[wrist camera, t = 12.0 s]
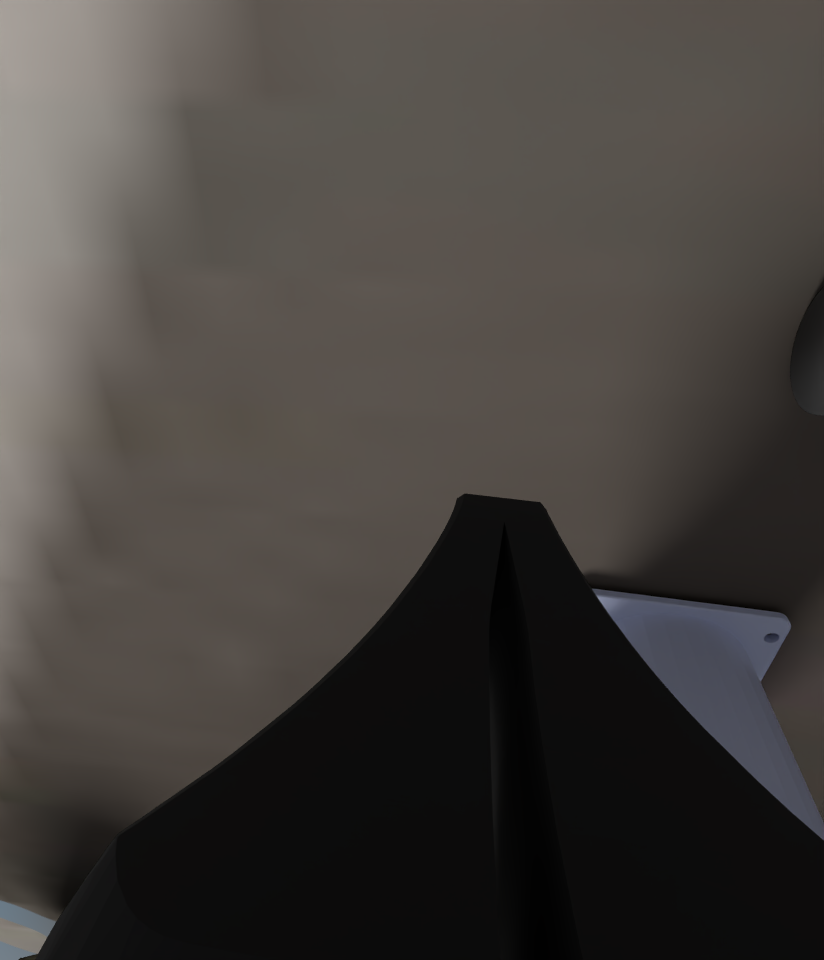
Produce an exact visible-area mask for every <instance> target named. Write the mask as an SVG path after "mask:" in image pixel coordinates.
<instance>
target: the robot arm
mask: <svg viewBox="0 0 824 960" xmlns="http://www.w3.org/2000/svg"><path fill="white" fill-rule="evenodd" d="M790 629H791V624H790V621H789V620H788V618H787V616H786V615H784V614H782V613H779V612H772V611H764V610H756V609H749V608H741V607H733V606H725V605H717V604H710V603H702V602H694V601H686V600H678V599H671V598H663V597H655V596H647V595H639V594H632V593H624V592H616V591H608V590H600V589H592V588H591V587H590V585H589V584H588V582H587V580H586V579H585V577H584V576H583V574H582V573H581V571H580V570H579V568H578V566H577V565H576V563H575V561H574V560H573V558H572V557H571V555H570V553H569V551H568V550H567V548H566V546H565V544H564V543H563V541H562V539H561V537H560V536H559V534H558V532H557V530H556V528H555V526H554V524H553V522H552V520H551V519H550V517H549V515H548V513H547V510H546V509H545V508H544V506H543V505H542V504H541V502H533V501H524V500H516V499H507V498H498V497H490V496H481V495H473V494H463V495H462V496H460V497H459V498H457V500H456V504H455V507H454V510H453V512H452V515H451V517H450V519H449V521H448V523H447V525H446V527H445V529H444V531H443V532H442V534H441V536H440V538H439V539H438V541H437V543H436V544H435V546H434V547H433V549H432V550H431V552H430V553H429V555H428V557H427V558H426V560H425V561H424V563H423V564H422V566H421V567H420V569H419V570H418V572H417V573H416V574H415V576H414V577H413V578H412V580H411V581H410V582H409V584H408V585H407V586H406V587H405V589H404V590H403V591H402V593H401V594H400V595H399V597H398V598H397V599H396V600H395V602H394V603H393V604H392V606H391V607H390V608H389V609H388V610H387V612H386V613H385V614H384V615H383V616H382V617H381V619H380V620H379V621H378V622H377V623H376V624H375V625H374V627H373V628H372V629H371V630H370V631H369V632H368V633H367V634H366V635H365V636H364V637H363V638H362V640H361V641H360V642H359V643H358V644H357V645H356V646H355V647H354V648H353V649H352V650H351V651H350V652H349V653H348V654H347V655H346V656H345V657H344V658H343V659H342V660H341V661H340V662H339V663H338V664H337V665H336V666H335V667H334V668H333V669H332V670H330V671H329V672H328V673H327V674H326V675H325V676H324V677H323V678H322V679H321V680H320V681H319V682H318V683H317V684H316V685H315V686H314V687H313V688H311V689H310V690H309V691H308V692H307V693H306V694H305V695H304V696H302V697H301V698H300V699H299V700H298V701H297V702H296V703H294V704H293V705H292V706H291V707H290V708H288V709H287V710H286V711H285V712H284V713H282V714H281V715H280V716H279V717H277V718H276V719H275V720H274V721H272V722H271V723H270V724H269V725H267V726H266V727H265V728H264V729H262V730H261V731H260V732H259V733H257V734H256V735H255V736H254V737H252V738H251V739H250V740H249V741H247V742H246V743H245V744H244V745H243V746H241V747H240V748H239V749H238V750H236V751H235V752H234V753H233V754H231V755H230V756H228V757H227V758H226V759H224V760H223V761H222V762H220V763H219V764H218V765H216V766H215V767H214V768H212V769H211V770H210V771H208V772H207V773H205V774H204V775H202V776H201V777H199V778H198V779H197V780H195V781H194V782H192V783H191V784H189V785H188V786H186V787H185V788H184V789H182V790H181V791H179V792H178V793H176V794H175V795H174V796H172V797H171V798H169V799H168V800H166V801H165V802H163V803H162V804H161V805H159V806H158V807H156V808H155V809H153V810H152V811H150V812H149V813H148V814H146V815H145V816H143V817H142V818H140V819H139V820H138V821H136V822H135V823H133V824H132V825H130V826H129V827H127V828H126V829H124V830H123V831H121V832H120V833H119V834H117V835H116V837H115V838H114V839H113V841H112V842H111V843H110V845H109V846H108V847H107V849H106V850H105V852H104V853H103V854H102V856H101V857H100V859H99V860H98V861H97V863H96V864H95V866H94V867H93V868H92V870H91V871H90V873H89V874H88V876H87V877H86V878H85V880H84V882H83V883H82V885H81V886H80V888H79V889H78V891H77V892H76V894H75V895H74V897H73V898H72V899H71V901H70V902H69V904H68V905H67V907H66V908H65V909H64V911H63V912H62V914H61V915H60V917H59V918H58V920H57V922H56V923H55V925H54V927H53V929H52V930H51V932H50V934H49V936H48V937H47V939H46V941H45V943H44V944H43V946H42V948H41V950H40V952H39V953H38V955H37V957H36V959H35V960H824V822H823V820H822V818H821V816H820V813H819V811H818V809H817V807H816V805H815V802H814V800H813V798H812V796H811V793H810V791H809V789H808V787H807V785H806V782H805V780H804V778H803V776H802V773H801V771H800V769H799V767H798V765H797V762H796V760H795V758H794V756H793V753H792V751H791V749H790V747H789V745H788V742H787V740H786V738H785V736H784V733H783V731H782V729H781V727H780V724H779V722H778V720H777V718H776V716H775V713H774V711H773V709H772V707H771V704H770V702H769V700H768V698H767V696H766V693H765V691H764V689H763V687H762V684H761V680H762V679H763V677H764V675H765V673H766V672H767V670H768V668H769V666H770V665H771V663H772V661H773V659H774V657H775V656H776V654H777V652H778V650H779V649H780V647H781V645H782V643H783V642H784V640H785V638H786V636H787V635H788V633H789V631H790ZM770 633H773V634H770ZM767 634H770V635H767Z"/></svg>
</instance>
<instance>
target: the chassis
mask: <svg viewBox="0 0 824 960" xmlns="http://www.w3.org/2000/svg"><path fill="white" fill-rule="evenodd" d="M790 377H791V386H792V391H793V394H794V397H795V399H796V401H797V403H798V404H799V406H800V407H801V408H802V409H803V410H804V411H806V412H808V413H810V414H814V415H823V416H824V287H823V288H822V289H821V290H820V292H819V293H818V294H817V295H816V297H815V298H814V300H813V301H812V303H811V304H810V306H809V307H808V309H807V311H806V313H805V315H804V317H803V319H802V321H801V324H800V326H799V329H798V332H797V335H796V338H795V342H794V346H793V350H792V356H791V365H790Z"/></svg>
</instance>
